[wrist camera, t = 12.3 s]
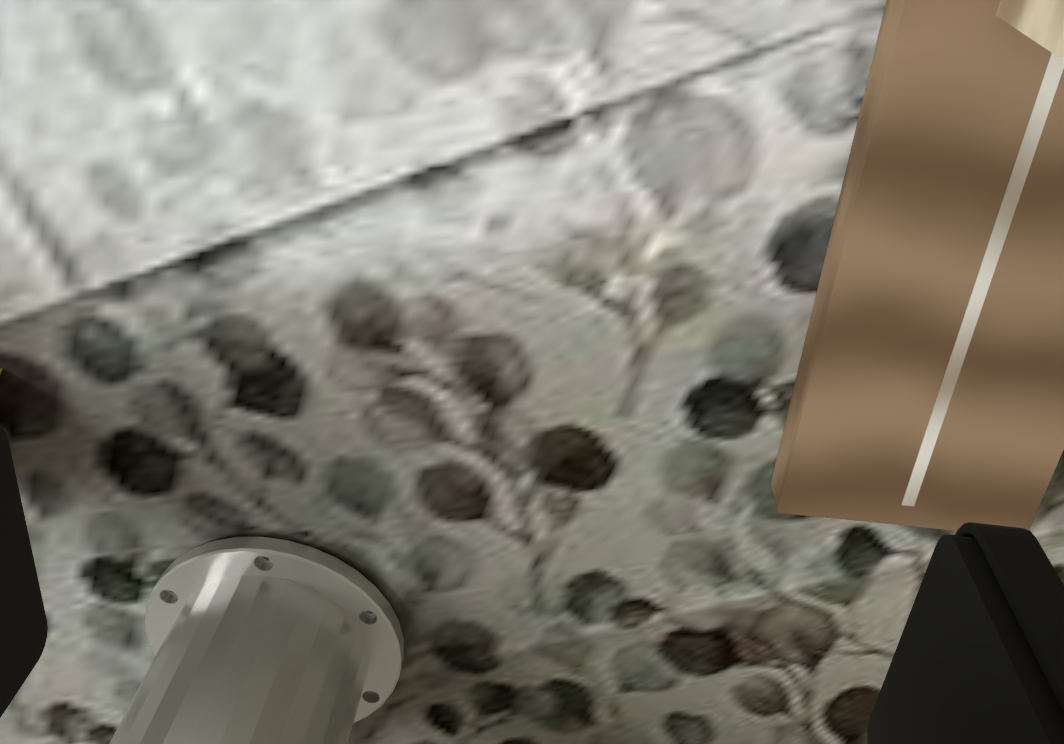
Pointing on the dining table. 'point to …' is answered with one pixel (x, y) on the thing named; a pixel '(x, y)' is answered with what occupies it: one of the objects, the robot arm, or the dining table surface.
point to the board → (939, 287)
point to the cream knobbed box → (1037, 21)
